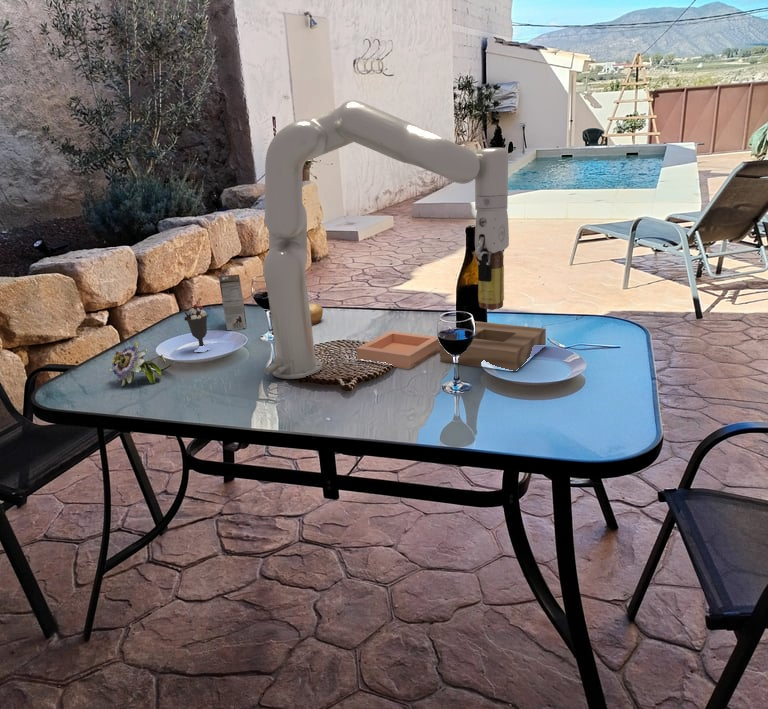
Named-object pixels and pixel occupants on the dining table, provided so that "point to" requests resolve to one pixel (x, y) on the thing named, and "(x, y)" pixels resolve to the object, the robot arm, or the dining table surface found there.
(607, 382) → the dining table surface
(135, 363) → the passion flower
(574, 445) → the dining table surface
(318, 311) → the pastry
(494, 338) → the holder block
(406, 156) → the robot arm
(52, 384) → the dining table surface
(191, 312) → the sundae
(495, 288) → the sauce bottle
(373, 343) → the tray
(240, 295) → the coffee box
